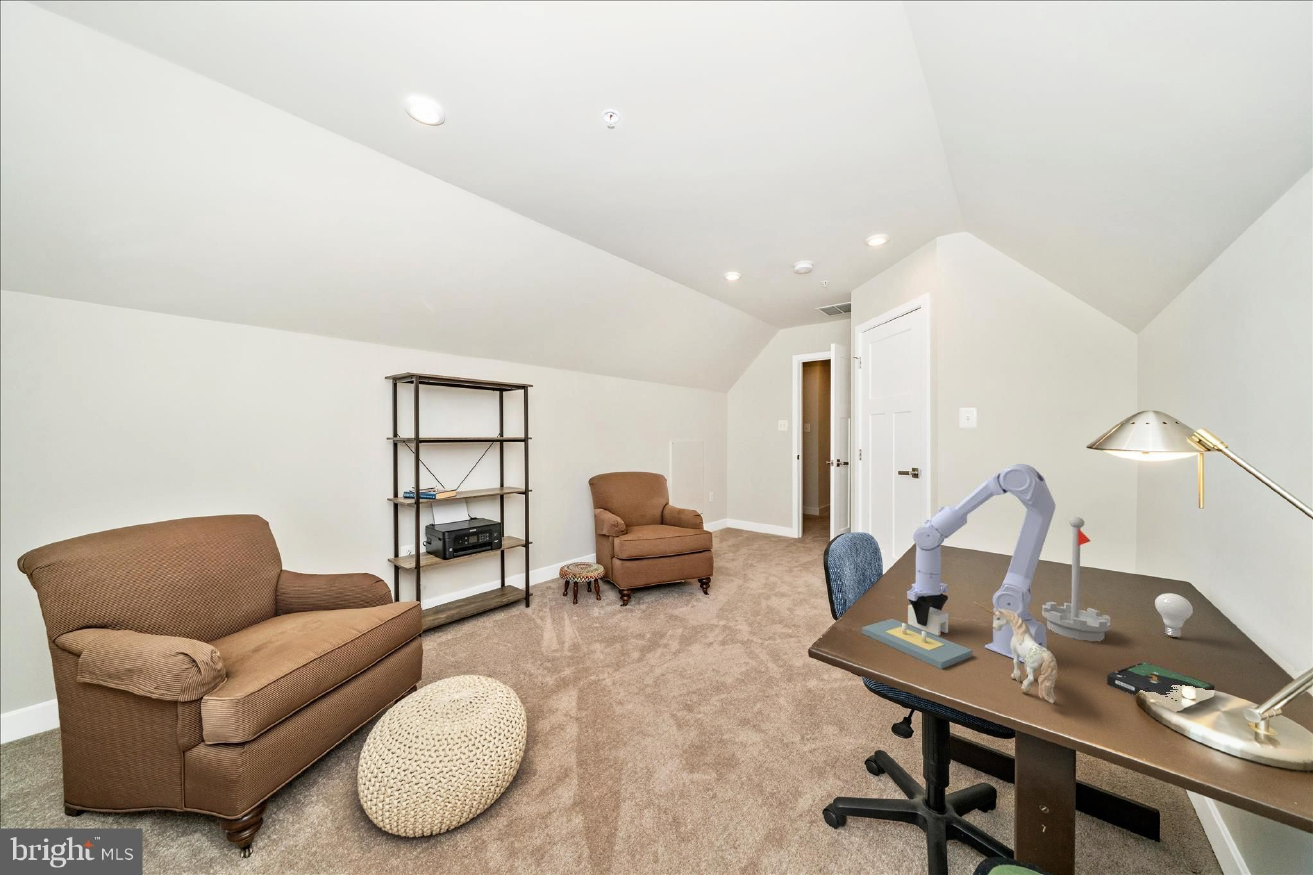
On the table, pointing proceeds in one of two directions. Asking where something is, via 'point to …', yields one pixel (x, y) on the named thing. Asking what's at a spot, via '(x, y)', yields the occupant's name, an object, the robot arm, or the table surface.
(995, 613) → the unicorn figurine
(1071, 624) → the flag stand
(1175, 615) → the lightbulb
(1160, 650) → the table surface
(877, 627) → the pin board
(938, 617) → the channel block
